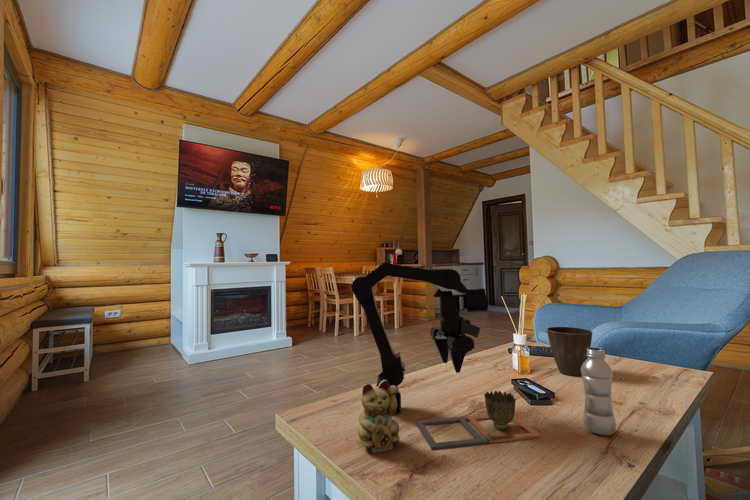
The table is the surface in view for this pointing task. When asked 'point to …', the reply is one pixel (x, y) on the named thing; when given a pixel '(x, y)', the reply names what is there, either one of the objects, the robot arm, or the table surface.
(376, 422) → the decorative figurine
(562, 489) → the table surface
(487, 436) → the rectangular frame
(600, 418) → the plastic bottle
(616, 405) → the table surface
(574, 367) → the plant pot
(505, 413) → the dark ridged bell shape
